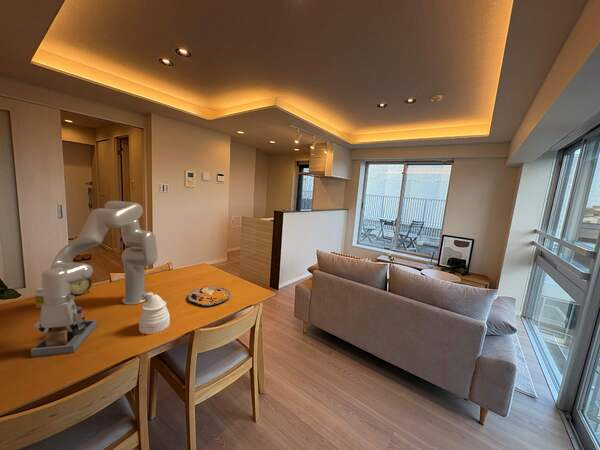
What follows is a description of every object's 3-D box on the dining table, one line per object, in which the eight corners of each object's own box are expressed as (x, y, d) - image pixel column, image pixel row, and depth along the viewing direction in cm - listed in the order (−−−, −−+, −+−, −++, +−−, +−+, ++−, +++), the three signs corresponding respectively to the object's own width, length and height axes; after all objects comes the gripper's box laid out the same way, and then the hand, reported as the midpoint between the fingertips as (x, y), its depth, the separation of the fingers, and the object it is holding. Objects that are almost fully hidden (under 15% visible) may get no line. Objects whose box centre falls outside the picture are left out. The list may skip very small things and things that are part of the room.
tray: (96, 325, 114) (96, 319, 113) (73, 352, 96) (73, 345, 95) (62, 328, 110) (61, 322, 109) (31, 357, 92) (30, 350, 91)
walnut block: (74, 336, 102) (73, 323, 101) (65, 345, 96) (64, 332, 95) (56, 338, 100) (55, 325, 99) (46, 347, 94) (45, 333, 94)
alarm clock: (67, 298, 135) (65, 271, 133) (65, 295, 138) (63, 269, 136) (92, 293, 144) (91, 267, 142) (89, 290, 147) (88, 265, 145)
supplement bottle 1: (52, 302, 131) (50, 285, 129) (48, 306, 126) (47, 289, 125) (37, 304, 128) (36, 287, 126) (34, 308, 123) (32, 291, 122)
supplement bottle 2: (75, 328, 110) (73, 305, 108) (89, 328, 111) (87, 305, 109) (63, 336, 104) (61, 311, 102) (78, 336, 105) (76, 312, 103)
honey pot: (147, 338, 108) (146, 301, 105) (133, 327, 115) (132, 292, 112) (175, 325, 119) (175, 291, 116) (161, 316, 125) (160, 284, 123)
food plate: (179, 299, 144) (179, 294, 144) (207, 286, 166) (207, 282, 165) (212, 311, 135) (212, 305, 135) (237, 296, 157) (237, 291, 156)
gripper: (88, 293, 102) (91, 332, 104) (36, 296, 96) (40, 337, 99) (79, 301, 95) (81, 343, 97) (21, 305, 89) (26, 349, 92)
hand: (60, 339), depth 98 cm, fingers closed on walnut block, 6 cm apart
